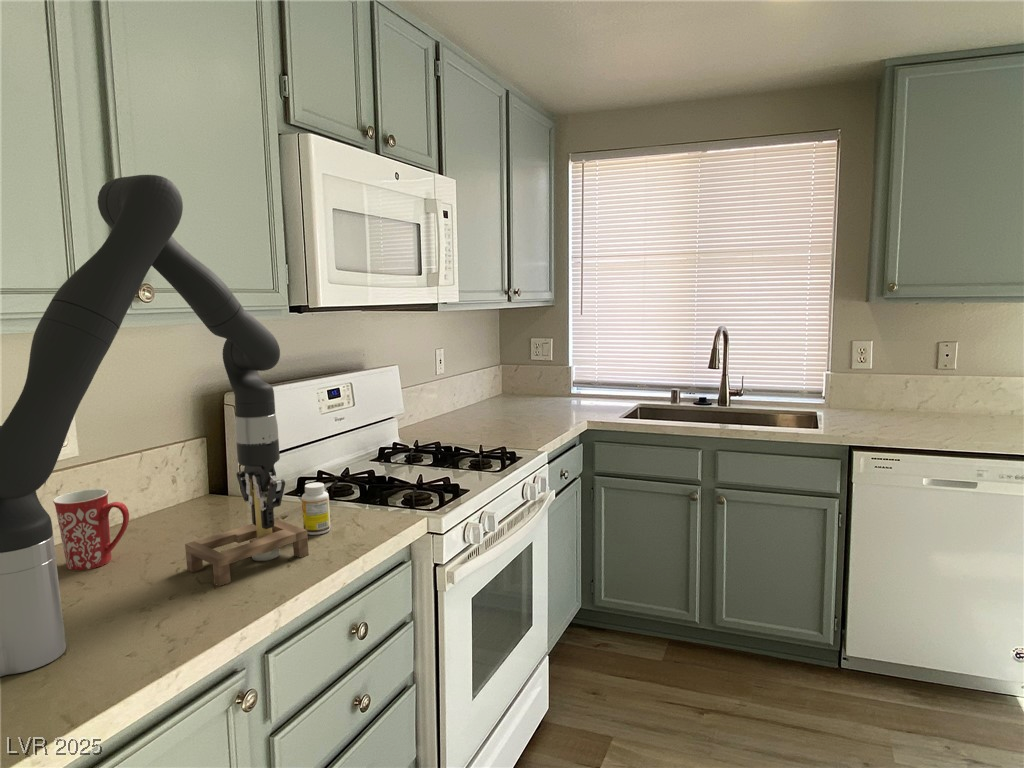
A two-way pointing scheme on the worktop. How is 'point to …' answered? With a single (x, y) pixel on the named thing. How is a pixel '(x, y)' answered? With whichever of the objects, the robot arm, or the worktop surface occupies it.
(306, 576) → the worktop surface
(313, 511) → the supplement bottle
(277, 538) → the keyhole board
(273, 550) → the peg
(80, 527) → the mug
